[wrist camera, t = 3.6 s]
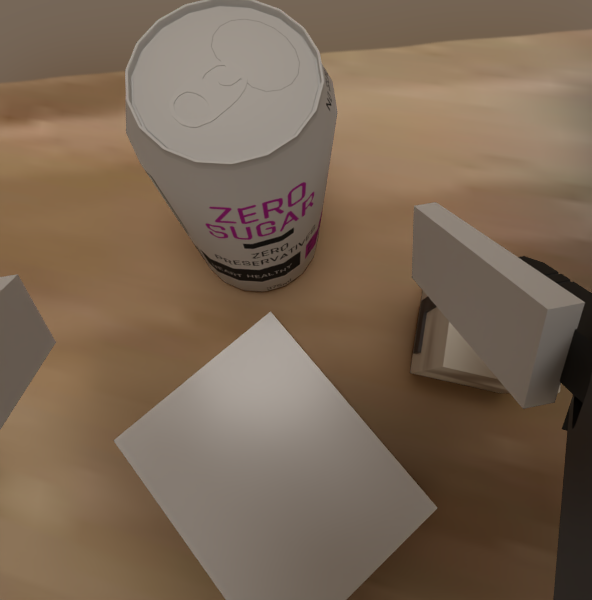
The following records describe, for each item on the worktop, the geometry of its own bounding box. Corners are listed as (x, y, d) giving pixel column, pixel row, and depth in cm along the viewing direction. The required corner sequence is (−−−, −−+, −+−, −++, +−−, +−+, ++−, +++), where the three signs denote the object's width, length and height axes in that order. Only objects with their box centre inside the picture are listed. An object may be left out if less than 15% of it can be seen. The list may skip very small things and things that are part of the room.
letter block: (508, 306, 27) (567, 282, 22) (500, 393, 26) (559, 392, 20) (420, 287, 28) (454, 258, 22) (406, 372, 26) (439, 365, 20)
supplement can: (258, 167, 30) (225, -51, 15) (340, 237, 29) (389, 73, 14) (179, 240, 28) (58, 77, 14) (261, 318, 27) (223, 229, 13)
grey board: (426, 499, 24) (437, 508, 23) (277, 646, 23) (275, 670, 21) (272, 317, 27) (270, 311, 25) (127, 436, 25) (113, 440, 23)
